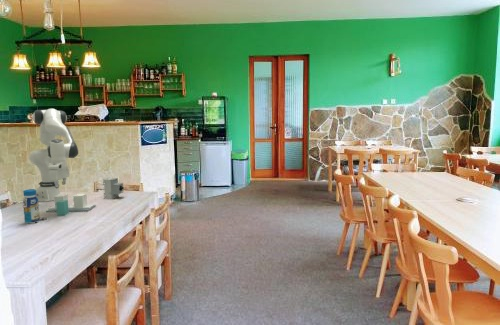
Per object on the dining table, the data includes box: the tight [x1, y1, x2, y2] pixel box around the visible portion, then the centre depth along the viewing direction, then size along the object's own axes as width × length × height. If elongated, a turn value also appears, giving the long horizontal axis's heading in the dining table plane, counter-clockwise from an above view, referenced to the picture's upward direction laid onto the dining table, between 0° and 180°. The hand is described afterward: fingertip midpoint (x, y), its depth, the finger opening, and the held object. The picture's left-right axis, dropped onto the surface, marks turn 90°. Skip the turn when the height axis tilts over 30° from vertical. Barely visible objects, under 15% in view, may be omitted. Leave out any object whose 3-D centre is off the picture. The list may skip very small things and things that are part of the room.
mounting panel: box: [45, 193, 97, 213], centre depth 273 cm, size 28×14×10 cm, turn 91°
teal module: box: [56, 199, 70, 217], centre depth 260 cm, size 5×6×9 cm
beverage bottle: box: [22, 188, 41, 224], centre depth 243 cm, size 8×8×20 cm
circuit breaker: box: [102, 177, 125, 200], centre depth 307 cm, size 8×14×15 cm, turn 78°
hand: (60, 185), depth 258 cm, fingers open, 8 cm apart
